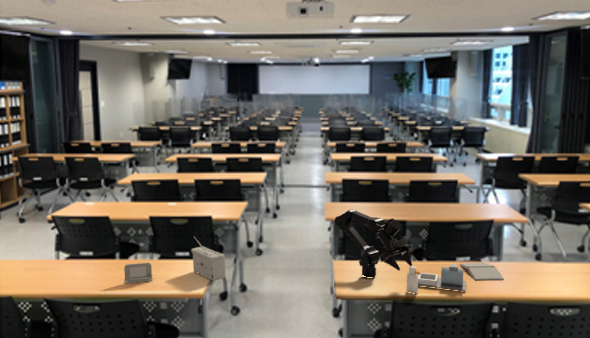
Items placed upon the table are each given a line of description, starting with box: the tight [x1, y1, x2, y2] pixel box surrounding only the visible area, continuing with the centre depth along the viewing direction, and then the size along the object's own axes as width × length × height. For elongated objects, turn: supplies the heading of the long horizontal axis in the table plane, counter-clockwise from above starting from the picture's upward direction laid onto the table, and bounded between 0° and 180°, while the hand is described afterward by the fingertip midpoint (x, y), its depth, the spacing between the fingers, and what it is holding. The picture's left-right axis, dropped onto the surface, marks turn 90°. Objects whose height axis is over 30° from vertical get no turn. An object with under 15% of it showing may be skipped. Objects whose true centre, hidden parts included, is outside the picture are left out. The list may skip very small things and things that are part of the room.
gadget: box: [459, 262, 504, 281], centre depth 268 cm, size 23×15×4 cm, turn 1°
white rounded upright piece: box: [406, 265, 422, 293], centre depth 241 cm, size 7×5×12 cm
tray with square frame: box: [418, 263, 467, 293], centre depth 251 cm, size 24×13×10 cm, turn 70°
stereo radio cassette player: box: [191, 236, 226, 282], centre depth 266 cm, size 21×8×20 cm, turn 42°
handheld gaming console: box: [123, 262, 153, 285], centre depth 261 cm, size 13×9×10 cm
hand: (405, 267), depth 244 cm, fingers open, 9 cm apart
